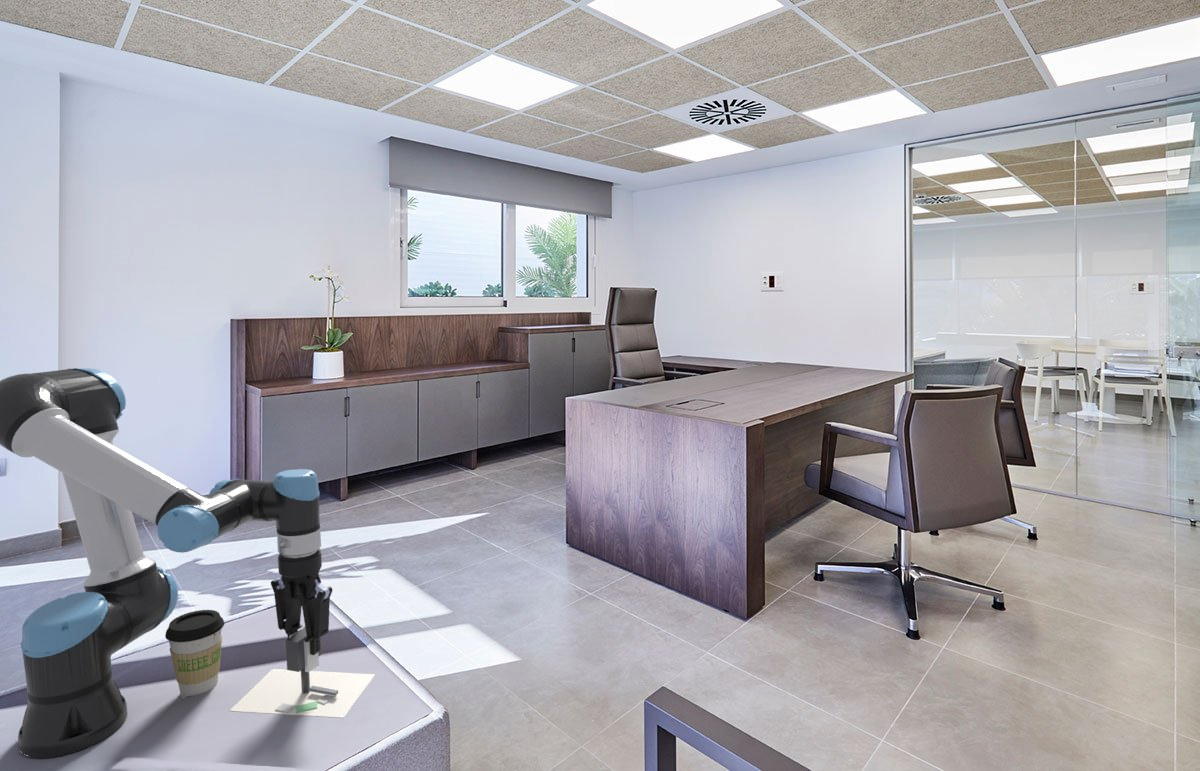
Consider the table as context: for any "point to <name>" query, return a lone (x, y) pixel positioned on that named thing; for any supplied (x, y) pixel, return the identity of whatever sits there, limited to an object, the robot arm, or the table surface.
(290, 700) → the flat cream board
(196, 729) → the table surface
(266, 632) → the table surface
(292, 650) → the dark grey angular piece
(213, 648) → the coffee cup
